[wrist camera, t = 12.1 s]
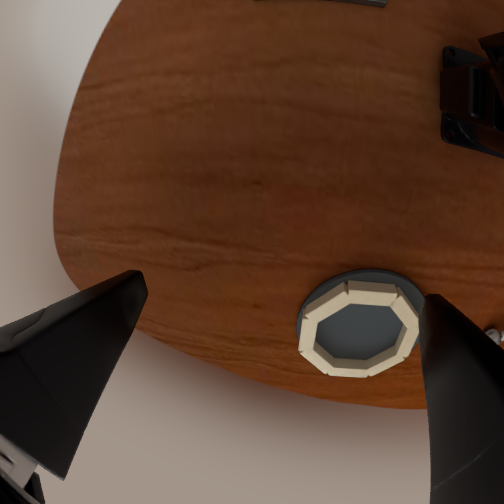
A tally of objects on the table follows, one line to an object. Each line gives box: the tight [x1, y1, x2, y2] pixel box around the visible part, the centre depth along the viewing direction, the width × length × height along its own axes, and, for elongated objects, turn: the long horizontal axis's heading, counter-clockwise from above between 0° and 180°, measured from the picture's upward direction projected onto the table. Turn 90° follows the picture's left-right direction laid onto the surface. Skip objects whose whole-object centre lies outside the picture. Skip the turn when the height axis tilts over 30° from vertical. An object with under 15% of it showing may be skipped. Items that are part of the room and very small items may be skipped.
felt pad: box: [296, 269, 424, 360], centre depth 22 cm, size 11×11×1 cm
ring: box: [298, 280, 419, 377], centre depth 22 cm, size 10×10×1 cm
